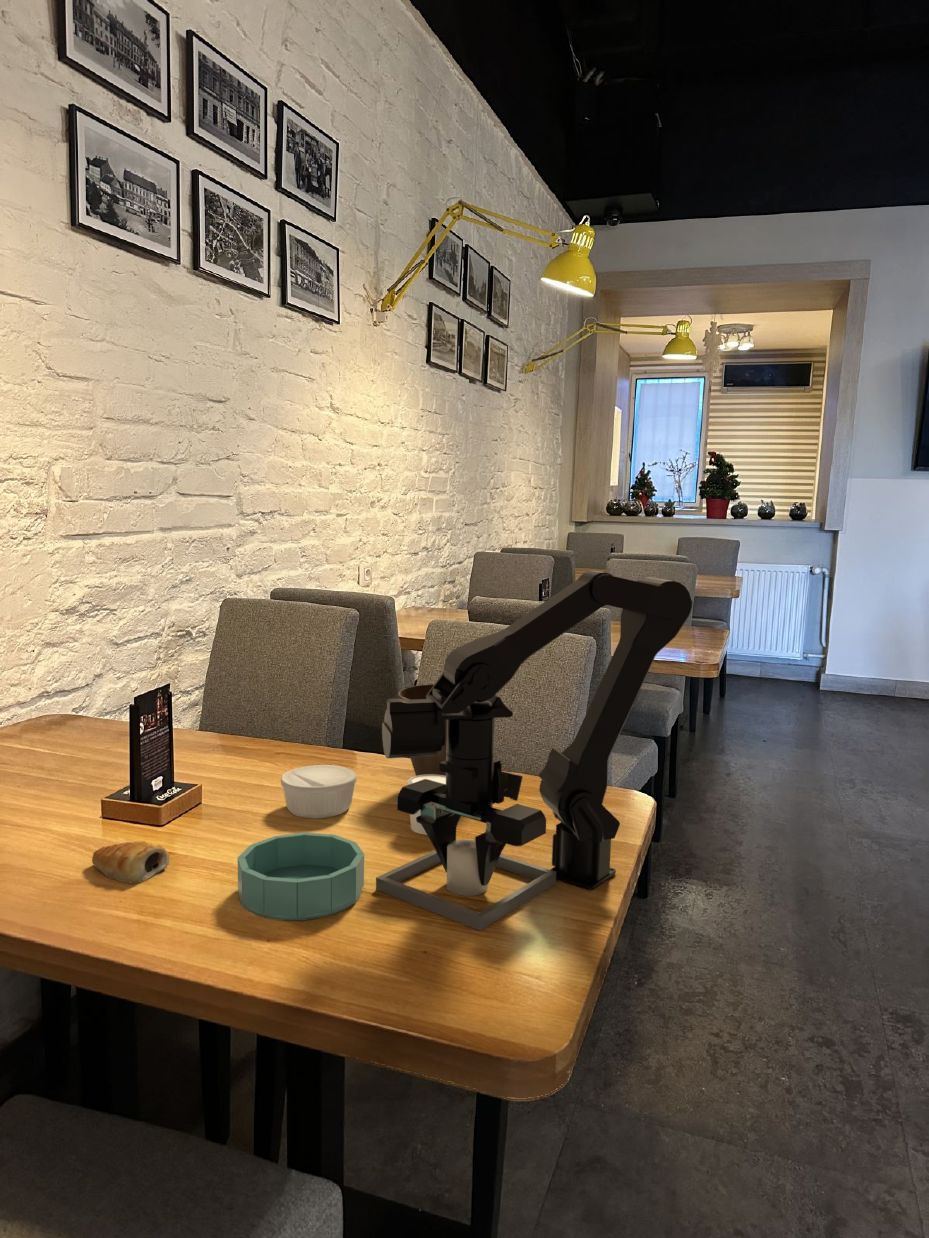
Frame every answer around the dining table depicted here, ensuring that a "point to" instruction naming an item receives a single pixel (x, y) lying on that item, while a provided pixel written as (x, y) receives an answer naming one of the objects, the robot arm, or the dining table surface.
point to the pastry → (131, 861)
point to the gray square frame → (456, 912)
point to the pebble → (463, 868)
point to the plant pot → (432, 762)
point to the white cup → (414, 824)
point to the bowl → (300, 876)
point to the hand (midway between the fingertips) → (467, 878)
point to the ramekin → (318, 790)
